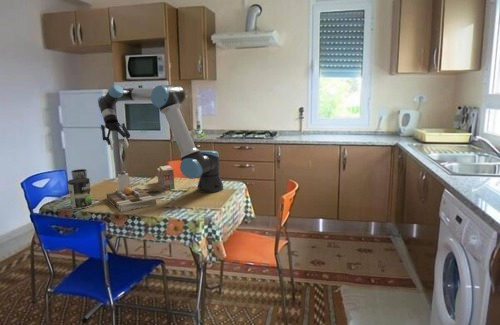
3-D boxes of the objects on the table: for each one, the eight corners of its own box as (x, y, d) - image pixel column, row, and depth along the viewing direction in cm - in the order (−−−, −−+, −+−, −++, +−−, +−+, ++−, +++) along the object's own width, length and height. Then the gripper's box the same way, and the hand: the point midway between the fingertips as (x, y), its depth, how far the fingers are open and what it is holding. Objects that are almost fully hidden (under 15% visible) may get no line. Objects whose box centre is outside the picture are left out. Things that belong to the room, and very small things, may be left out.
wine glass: (92, 195, 211) (89, 170, 208) (77, 199, 206) (74, 172, 203) (86, 193, 217) (83, 168, 214) (72, 196, 211) (68, 170, 208)
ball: (133, 193, 202) (132, 186, 202) (130, 195, 198) (129, 188, 198) (126, 193, 203) (125, 186, 202) (123, 195, 199) (122, 188, 198)
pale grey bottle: (119, 191, 205) (117, 171, 203) (128, 190, 208) (126, 170, 206) (121, 193, 203) (119, 172, 200) (130, 191, 206) (128, 171, 203)
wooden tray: (106, 198, 204) (106, 191, 203) (138, 192, 214) (138, 185, 213) (121, 211, 182) (120, 203, 181) (156, 204, 192) (155, 196, 191)
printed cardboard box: (158, 182, 238) (156, 163, 236) (167, 181, 241) (166, 162, 238) (164, 190, 219) (162, 170, 217) (174, 188, 222) (173, 168, 219)
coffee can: (96, 203, 196) (93, 177, 194) (84, 209, 187) (81, 182, 184) (79, 202, 199) (76, 177, 196) (66, 208, 189) (63, 182, 186)
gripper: (126, 120, 229) (137, 149, 219) (91, 123, 217) (100, 153, 208) (128, 112, 224) (139, 141, 214) (92, 114, 212) (102, 145, 202)
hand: (120, 147), depth 211 cm, fingers open, 8 cm apart
